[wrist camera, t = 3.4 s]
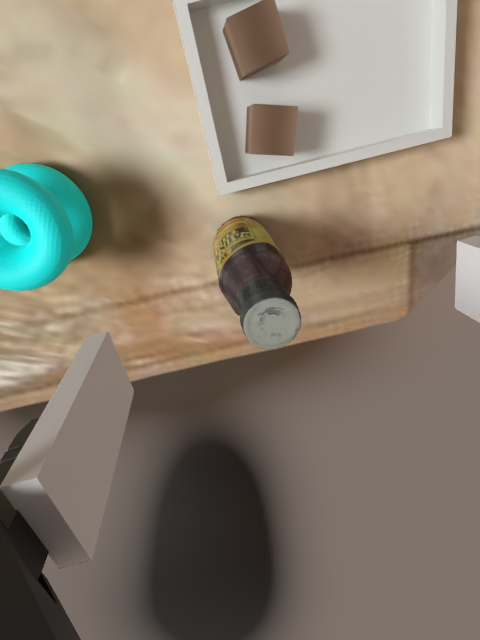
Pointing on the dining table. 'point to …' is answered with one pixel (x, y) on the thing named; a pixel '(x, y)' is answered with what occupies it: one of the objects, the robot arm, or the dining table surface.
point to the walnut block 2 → (270, 129)
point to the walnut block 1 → (255, 38)
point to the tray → (325, 82)
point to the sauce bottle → (256, 282)
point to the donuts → (39, 225)
